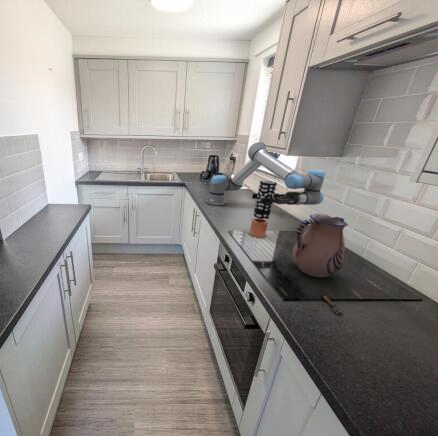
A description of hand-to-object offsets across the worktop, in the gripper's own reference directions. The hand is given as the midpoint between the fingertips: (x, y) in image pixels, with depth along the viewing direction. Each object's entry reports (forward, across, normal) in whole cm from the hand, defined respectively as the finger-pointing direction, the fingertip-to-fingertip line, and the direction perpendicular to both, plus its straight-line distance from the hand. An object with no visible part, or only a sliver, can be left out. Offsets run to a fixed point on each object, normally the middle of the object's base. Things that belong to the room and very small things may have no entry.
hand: (257, 198), depth 128 cm
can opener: (+3, -59, -23) cm, 63 cm away
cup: (-5, 0, -22) cm, 23 cm away
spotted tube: (-5, 0, -11) cm, 12 cm away
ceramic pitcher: (-5, -39, -23) cm, 45 cm away
